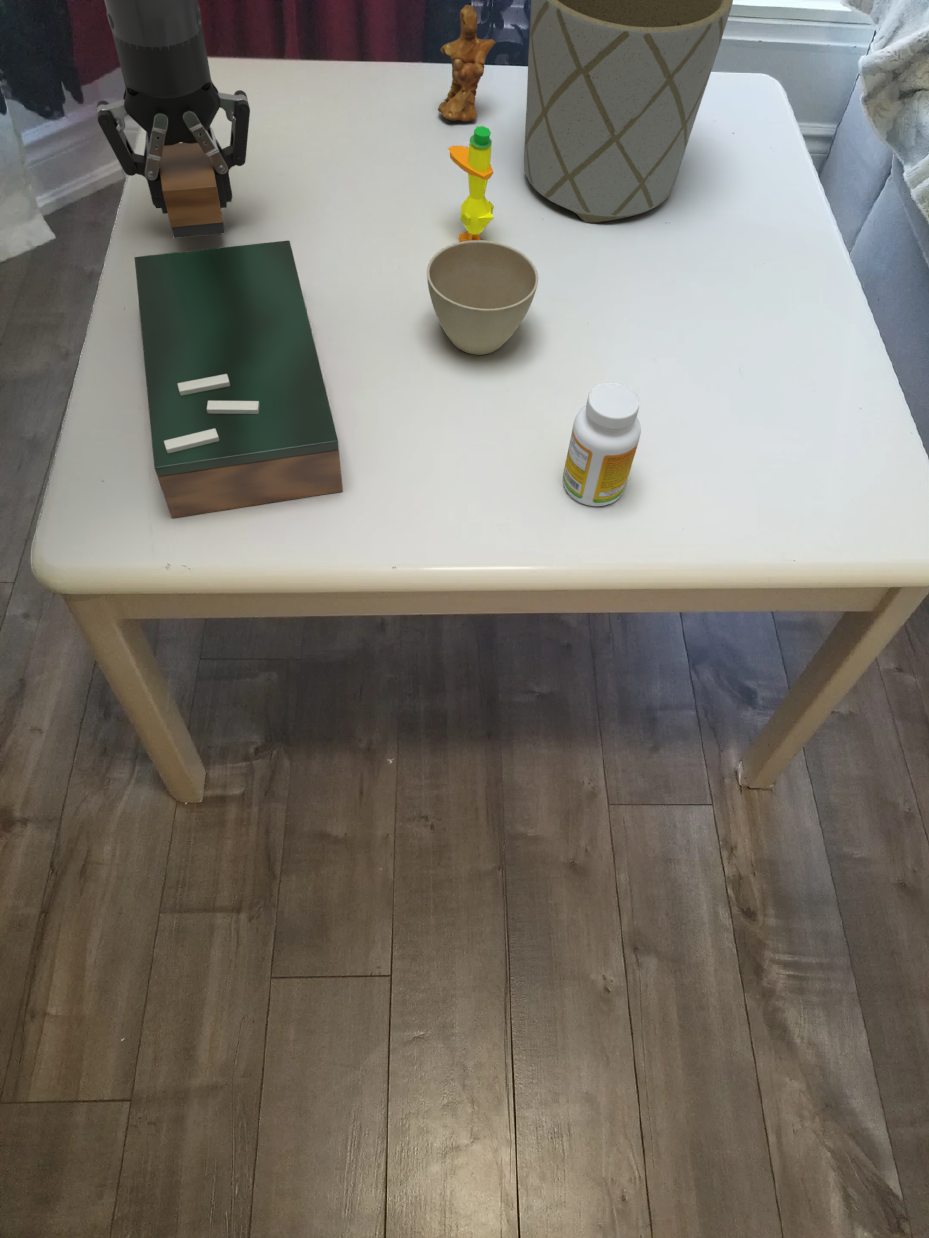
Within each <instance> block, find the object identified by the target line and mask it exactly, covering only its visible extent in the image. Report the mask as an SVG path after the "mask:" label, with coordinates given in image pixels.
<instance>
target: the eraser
mask: <svg viewBox="0 0 929 1238" xmlns="http://www.w3.org/2000/svg"><path fill="white" fill-rule="evenodd" d="M159 168H160V176H161V184H162V191H163V195H164V200H165V204H166V208H167V212H168V214H167V216H168V217H167V218H168V221H169V225H170V229H171V233H172V237H173V239H181V238H182V239H183V238H192V237H201V236H202V237H203V236H212V235H223V234H225V233H226V230H225V224H224V219H223V213H222V208H221V207H220V202H219V196H218V191H217V186H216V180H215V175H214V169H213V165H212V163H211V162H210V160H209V158H208V157H207V156H206V155H205V154H204V152H203V150H202V149H201V147H200V146H199V144H198V143H193V144H188V143H182V142H180V143H177V144H174V145H169V146H164V147H163V153H162V159H161V160H160V166H159Z"/></svg>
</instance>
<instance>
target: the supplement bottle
mask: <svg viewBox="0 0 929 1238" xmlns="http://www.w3.org/2000/svg"><path fill="white" fill-rule="evenodd" d="M640 405H641V404H640V398H639V396H638V394H637V393H636V392H635V391H634V390H633V389H632V388H630V387H628V386H627V385H625V384H622V383H619V382H602V383H599V384H598V385H596V386H594V387H593V388H592V389H591V390H590V392H589V393H588V397H587V401H586V404H585V405H584V406H582V407H581V408H580V409H579V410H578V412H577V413H576V415H575V418H574V420H573V425H572V428H571V436H570V439H569V443H568V449H567V454H566V459H565V464H564V467H563V474H562V483H563V488H564V489H565V491H566V493H567V494H568V495H569V496H570V498H572V499H573V500H575V501H576V502H578V503H580V504H582V505H586V506H590V507H603V506H607V505H610V504H613V503H615V502H617V501H618V500H619V499H620V498H621V497H622V496H623V494H624V491H625V490H626V489H625V488H626V486H627V482H628V479H629V476H630V472H631V470H632V466H633V462H634V460H635V459H634V458H635V456H636V453H637V449H638V446H639V442H640V439H641V433H642V432H641V431H642V428H641V427H642V425H641V423H640V420H639V418H638V414H639V409H640Z"/></svg>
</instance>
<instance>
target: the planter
mask: <svg viewBox="0 0 929 1238" xmlns="http://www.w3.org/2000/svg"><path fill="white" fill-rule="evenodd" d="M733 3H734V0H530V15H529V17H530V18H529V38H528V57H527V58H528V59H527V62H528V63H527V83H526V84H527V85H526V105H525V107H526V109H525V130H524V146H523V147H524V148H523V149H524V150H523V170H524V173H525V176H526V178H527V180H528V182H529V184H530V185H531V186H532V188H533V189H534V190H535V191H536V192H538V193H539V194H540V195H541V196H543V197H544V198H545V199H547V200H548V201H550V202H551V203H554V204H555V205H557V206H560V207H562V208H564V209H566V210H569V211H571V212H573V213H575V214H576V215H577V216H578V217H579V218H580V219H581V220H582V222H585V223H589V224H590V223H592V224H593V223H602V222H608V221H609V222H610V221H615V220H619V219H624V218H625V219H626V218H629V217H634V216H637V215H640V214H644V213H646V212H649V211H651V210H653V209H655V208H656V207H658V206H660V205H661V204H663V203H664V202H665V201H666V200H668V198H669V197H670V196H671V193H672V190H673V189H674V186H675V183H676V180H677V178H678V175H679V171H680V168H681V165H682V162H683V159H684V155H685V152H686V149H687V146H688V143H689V140H690V137H691V133H692V131H693V128H694V124H695V122H696V119H697V114H698V112H699V109H700V106H701V103H702V101H703V97H704V94H705V91H706V88H707V85H708V82H709V79H710V77H711V73H712V69H713V68H714V64H715V61H716V58H717V55H718V52H719V49H720V46H721V43H722V39H723V35H724V32H725V30H726V26H727V23H728V19H729V17H730V14H731V9H732V7H733Z"/></svg>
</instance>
